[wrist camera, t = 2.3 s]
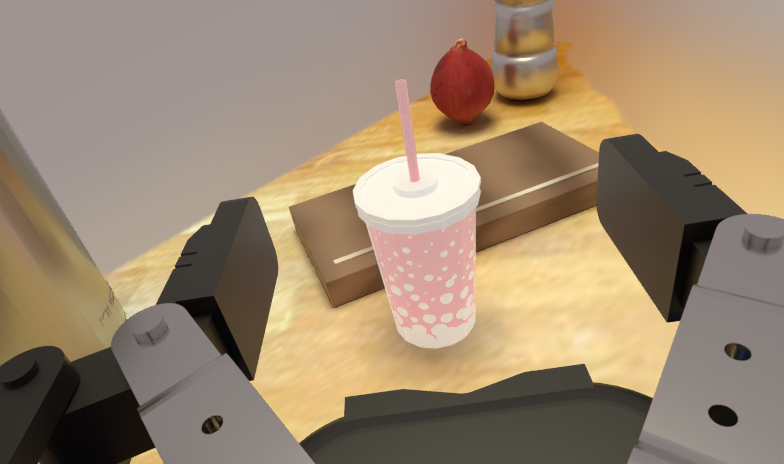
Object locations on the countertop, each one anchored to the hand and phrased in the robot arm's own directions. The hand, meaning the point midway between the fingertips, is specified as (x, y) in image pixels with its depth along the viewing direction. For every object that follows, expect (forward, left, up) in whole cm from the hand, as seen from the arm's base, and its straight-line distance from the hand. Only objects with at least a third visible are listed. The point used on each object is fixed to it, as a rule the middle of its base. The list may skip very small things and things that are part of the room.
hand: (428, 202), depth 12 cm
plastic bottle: (+26, +35, -15) cm, 46 cm away
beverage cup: (+4, +11, -15) cm, 19 cm away
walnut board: (+10, +16, -15) cm, 24 cm away
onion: (+18, +33, -15) cm, 40 cm away
